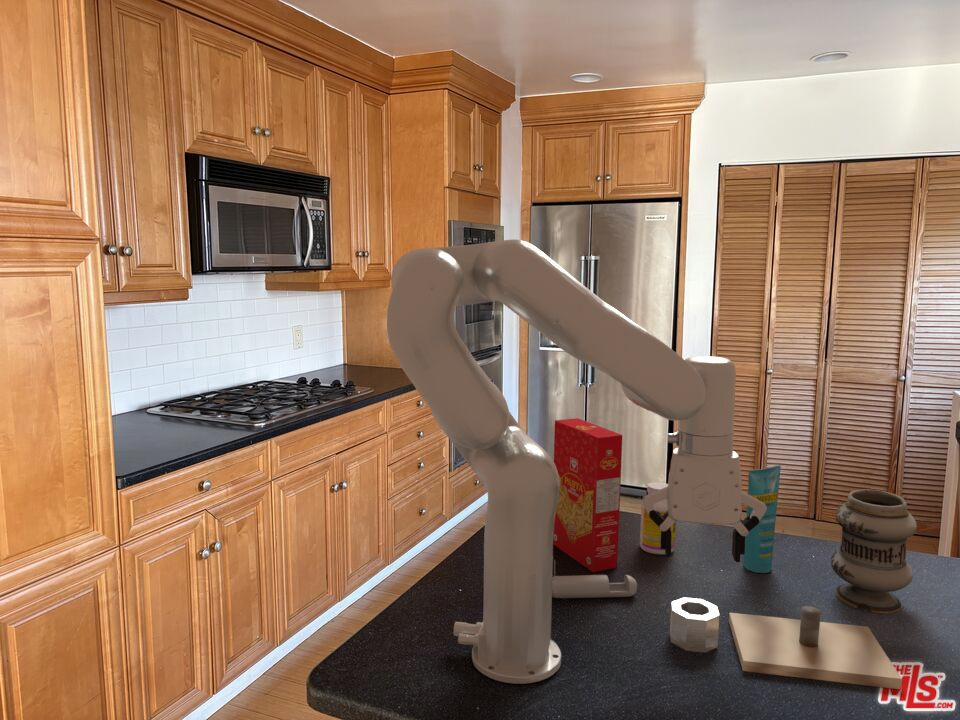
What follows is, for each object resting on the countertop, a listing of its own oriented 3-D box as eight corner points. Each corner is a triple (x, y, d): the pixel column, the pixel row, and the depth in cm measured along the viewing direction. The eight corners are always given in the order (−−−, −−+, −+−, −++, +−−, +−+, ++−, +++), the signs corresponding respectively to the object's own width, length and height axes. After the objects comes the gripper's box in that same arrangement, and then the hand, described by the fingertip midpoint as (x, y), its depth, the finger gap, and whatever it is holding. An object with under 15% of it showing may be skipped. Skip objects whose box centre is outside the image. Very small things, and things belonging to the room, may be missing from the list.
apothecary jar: (826, 606, 119) (835, 501, 116) (829, 578, 129) (837, 481, 127) (911, 624, 113) (922, 514, 111) (907, 593, 124) (917, 492, 121)
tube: (754, 577, 129) (761, 473, 127) (733, 567, 133) (739, 466, 131) (782, 568, 133) (789, 467, 130) (760, 559, 137) (767, 461, 134)
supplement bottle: (678, 556, 138) (681, 491, 136) (643, 555, 138) (646, 491, 136) (669, 542, 145) (672, 480, 143) (636, 542, 145) (639, 480, 143)
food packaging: (551, 542, 144) (554, 420, 140) (574, 538, 146) (577, 418, 143) (593, 572, 131) (597, 437, 127) (617, 567, 133) (622, 434, 129)
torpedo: (631, 589, 125) (633, 552, 124) (639, 601, 120) (641, 564, 119) (528, 591, 123) (529, 554, 122) (532, 604, 119) (533, 566, 118)
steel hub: (671, 648, 105) (673, 616, 104) (669, 626, 112) (670, 596, 111) (719, 654, 104) (721, 621, 103) (713, 631, 110) (715, 600, 110)
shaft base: (742, 670, 100) (745, 626, 99) (728, 621, 113) (731, 582, 112) (900, 689, 96) (905, 643, 95) (867, 636, 109) (870, 595, 109)
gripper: (644, 447, 102) (641, 562, 104) (774, 452, 98) (768, 571, 101) (643, 434, 109) (640, 542, 111) (764, 438, 105) (759, 550, 108)
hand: (701, 556), depth 106 cm, fingers open, 9 cm apart
